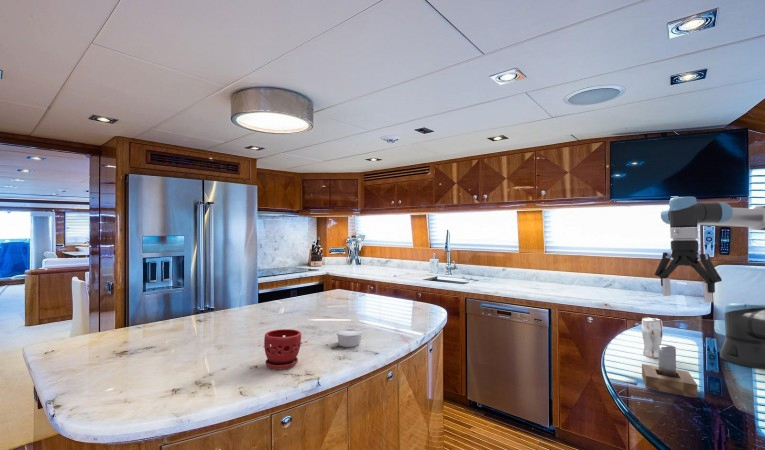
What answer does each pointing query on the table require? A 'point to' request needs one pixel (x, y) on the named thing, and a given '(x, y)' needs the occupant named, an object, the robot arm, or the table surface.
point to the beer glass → (652, 336)
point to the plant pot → (282, 348)
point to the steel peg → (667, 360)
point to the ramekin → (349, 337)
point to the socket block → (669, 381)
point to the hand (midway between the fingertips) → (686, 298)
